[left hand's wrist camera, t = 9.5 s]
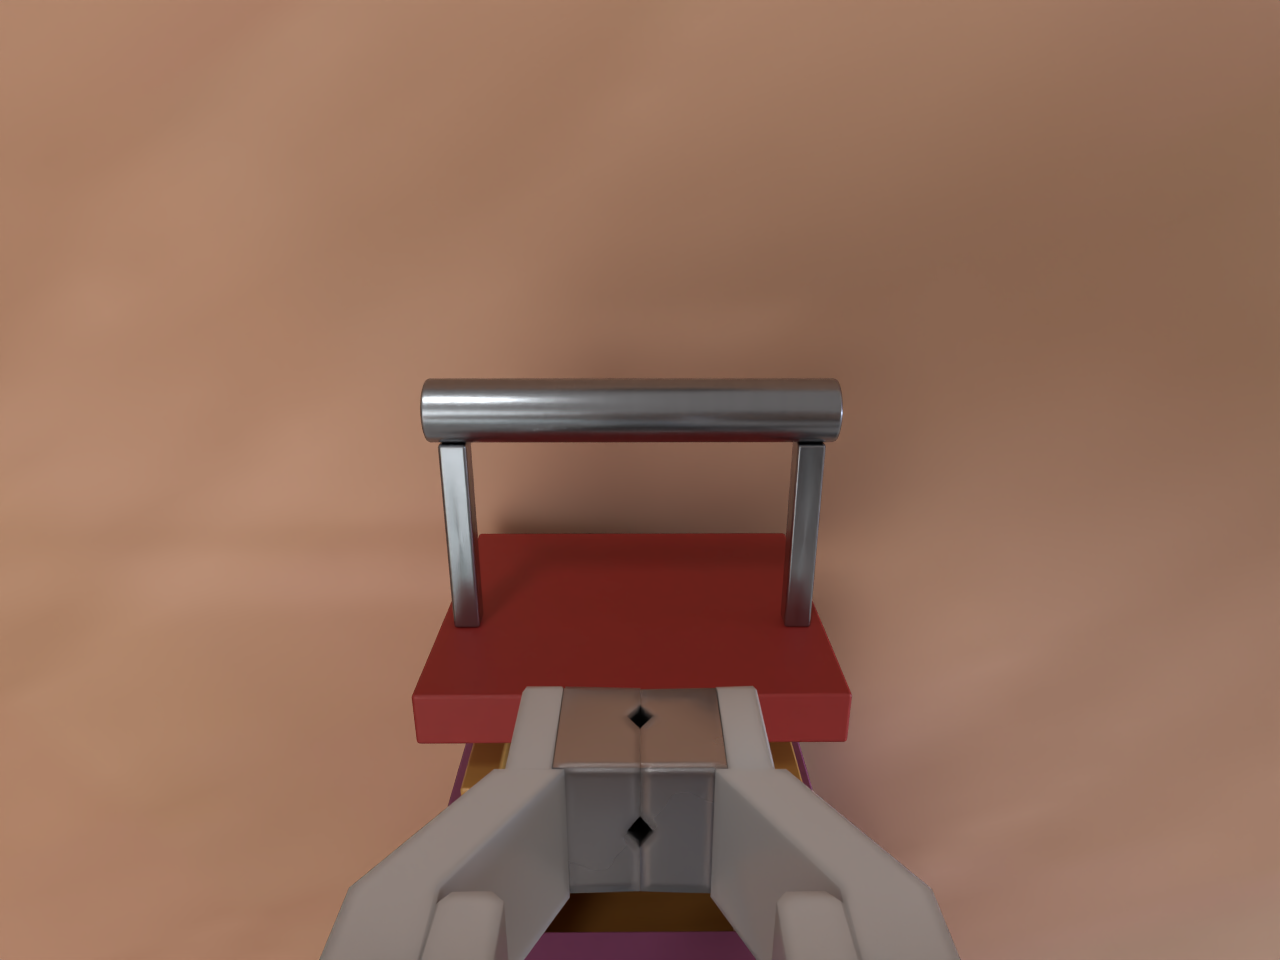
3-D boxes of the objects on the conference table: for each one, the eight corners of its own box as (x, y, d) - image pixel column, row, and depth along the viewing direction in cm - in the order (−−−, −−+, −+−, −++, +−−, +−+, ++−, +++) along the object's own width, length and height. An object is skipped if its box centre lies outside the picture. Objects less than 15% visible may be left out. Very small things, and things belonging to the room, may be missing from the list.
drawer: (464, 334, 22) (377, 418, 14) (799, 334, 22) (884, 418, 14) (502, 841, 28) (455, 1082, 20) (762, 840, 28) (809, 1080, 20)
